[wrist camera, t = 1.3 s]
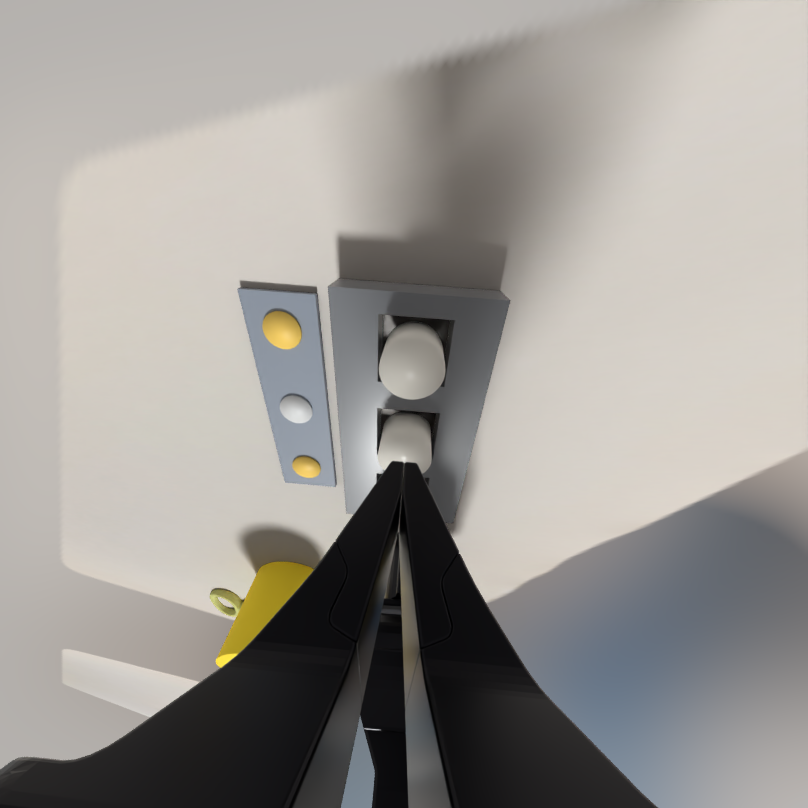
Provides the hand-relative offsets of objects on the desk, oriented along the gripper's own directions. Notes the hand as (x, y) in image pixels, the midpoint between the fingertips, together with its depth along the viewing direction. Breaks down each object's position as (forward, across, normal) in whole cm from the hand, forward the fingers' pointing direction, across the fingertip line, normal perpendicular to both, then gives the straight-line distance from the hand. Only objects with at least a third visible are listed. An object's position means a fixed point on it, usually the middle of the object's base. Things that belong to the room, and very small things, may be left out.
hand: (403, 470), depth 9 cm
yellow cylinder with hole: (+12, +14, +36) cm, 41 cm away
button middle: (+10, 0, +6) cm, 12 cm away
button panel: (+12, 0, +6) cm, 14 cm away
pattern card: (+12, +9, +6) cm, 16 cm away
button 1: (+10, 0, 0) cm, 10 cm away
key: (+13, +23, +45) cm, 52 cm away
